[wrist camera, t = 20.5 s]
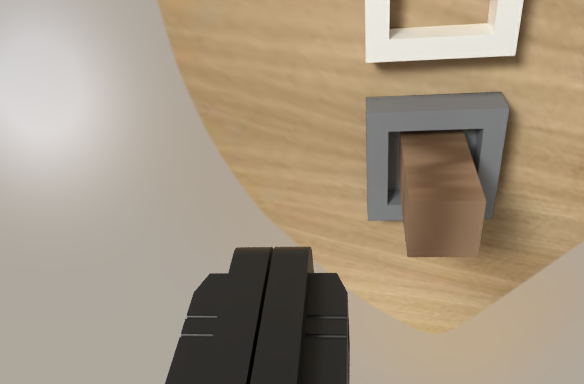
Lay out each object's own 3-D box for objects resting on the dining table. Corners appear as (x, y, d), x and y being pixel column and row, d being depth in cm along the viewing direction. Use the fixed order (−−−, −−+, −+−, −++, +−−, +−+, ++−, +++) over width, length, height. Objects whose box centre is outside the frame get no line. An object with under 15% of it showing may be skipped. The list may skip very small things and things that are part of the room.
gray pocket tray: (501, 91, 39) (509, 108, 37) (486, 199, 45) (492, 218, 43) (365, 97, 40) (366, 113, 38) (367, 201, 46) (368, 220, 44)
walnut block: (462, 127, 41) (486, 200, 33) (457, 178, 43) (478, 256, 36) (399, 129, 41) (409, 202, 34) (398, 179, 44) (407, 257, 36)
